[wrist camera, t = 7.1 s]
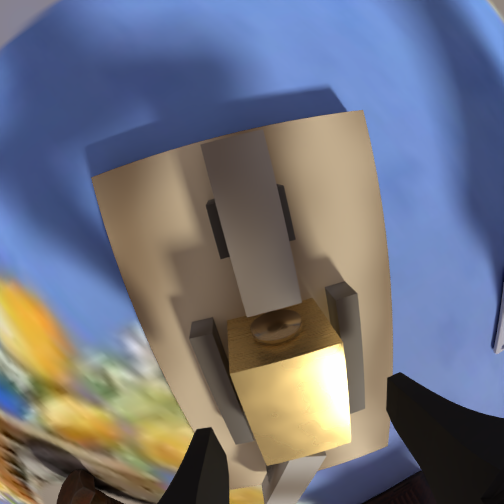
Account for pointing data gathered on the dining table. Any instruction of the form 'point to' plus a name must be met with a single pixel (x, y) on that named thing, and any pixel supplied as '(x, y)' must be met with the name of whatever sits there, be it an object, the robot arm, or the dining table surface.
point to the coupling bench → (210, 282)
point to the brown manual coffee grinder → (407, 492)
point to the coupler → (290, 381)
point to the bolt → (82, 490)
